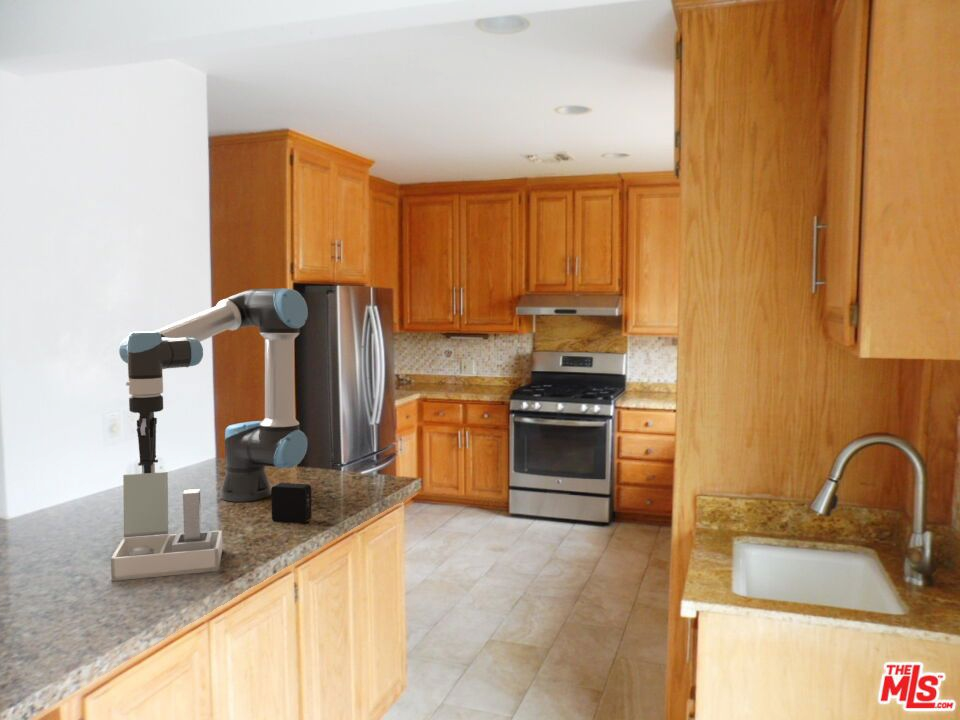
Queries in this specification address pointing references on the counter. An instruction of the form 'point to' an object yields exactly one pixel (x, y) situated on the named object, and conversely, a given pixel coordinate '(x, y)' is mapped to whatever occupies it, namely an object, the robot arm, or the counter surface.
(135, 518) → the lid
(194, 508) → the rectangular gray bar
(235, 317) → the robot arm
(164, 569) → the housing
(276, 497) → the electronic device
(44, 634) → the counter surface
